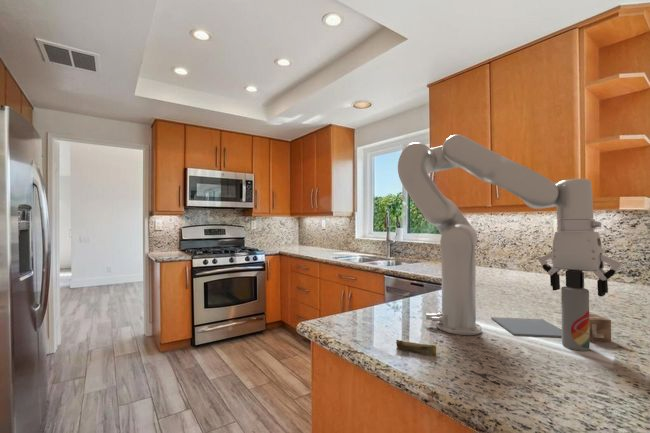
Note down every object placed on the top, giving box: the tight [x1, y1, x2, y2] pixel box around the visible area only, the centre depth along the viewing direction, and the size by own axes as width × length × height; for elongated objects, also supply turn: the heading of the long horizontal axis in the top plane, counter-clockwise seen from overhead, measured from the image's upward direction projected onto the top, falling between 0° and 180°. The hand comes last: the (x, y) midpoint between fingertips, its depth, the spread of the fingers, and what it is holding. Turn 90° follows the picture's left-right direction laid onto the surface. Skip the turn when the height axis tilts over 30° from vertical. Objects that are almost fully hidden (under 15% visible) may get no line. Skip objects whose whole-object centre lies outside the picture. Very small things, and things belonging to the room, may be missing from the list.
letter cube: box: [589, 313, 612, 343], centre depth 90 cm, size 6×6×6 cm
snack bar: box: [395, 339, 437, 357], centre depth 78 cm, size 10×2×3 cm, turn 66°
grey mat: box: [490, 316, 562, 338], centre depth 99 cm, size 16×16×1 cm
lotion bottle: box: [560, 270, 591, 352], centre depth 83 cm, size 6×6×20 cm
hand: (577, 292), depth 83 cm, fingers open, 9 cm apart
